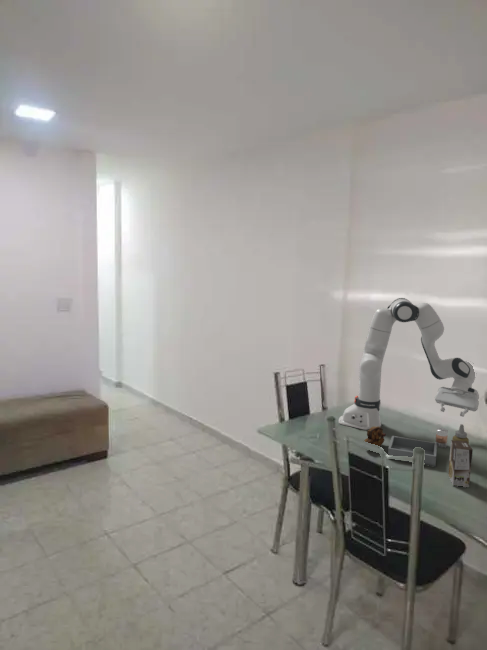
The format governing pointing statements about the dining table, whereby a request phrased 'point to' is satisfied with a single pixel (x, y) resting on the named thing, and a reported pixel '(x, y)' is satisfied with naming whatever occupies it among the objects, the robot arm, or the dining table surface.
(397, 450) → the box
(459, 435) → the squeeze bottle
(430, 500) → the dining table surface
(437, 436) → the grey capped jar
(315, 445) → the dining table surface
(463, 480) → the coffee box
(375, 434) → the wooden carving
